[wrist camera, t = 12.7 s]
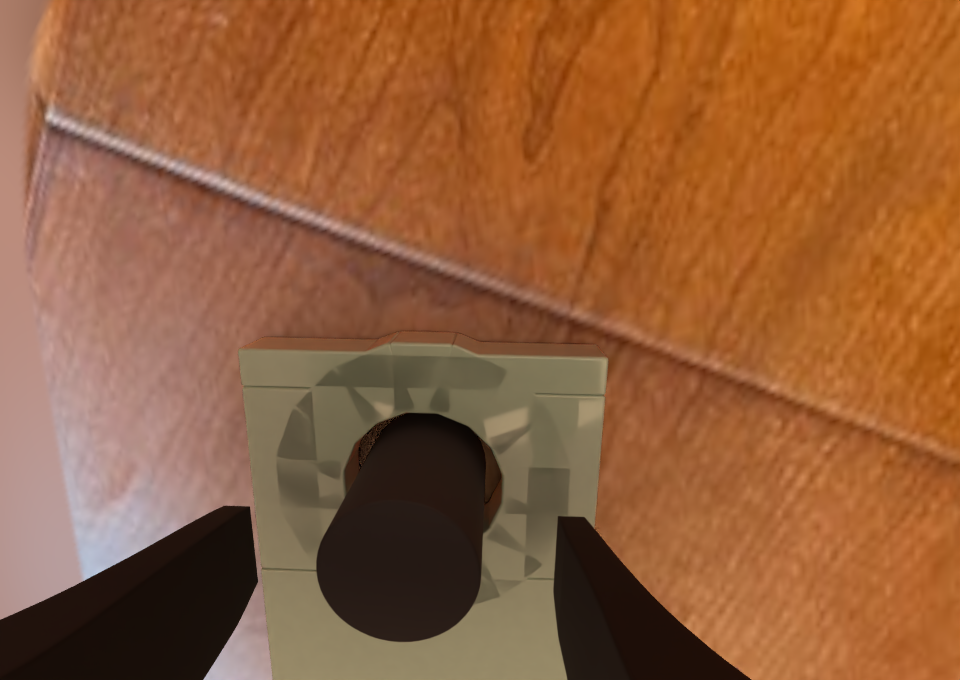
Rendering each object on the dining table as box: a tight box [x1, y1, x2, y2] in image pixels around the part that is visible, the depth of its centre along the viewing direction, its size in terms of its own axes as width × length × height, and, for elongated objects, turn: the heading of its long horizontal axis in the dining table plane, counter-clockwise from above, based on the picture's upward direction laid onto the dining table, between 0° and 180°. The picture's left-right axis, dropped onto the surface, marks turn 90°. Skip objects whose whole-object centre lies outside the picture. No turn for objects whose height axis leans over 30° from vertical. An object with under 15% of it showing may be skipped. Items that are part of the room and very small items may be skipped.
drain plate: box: [238, 331, 609, 680], centre depth 16 cm, size 20×10×2 cm, turn 179°
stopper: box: [316, 413, 486, 642], centre depth 13 cm, size 4×4×5 cm
